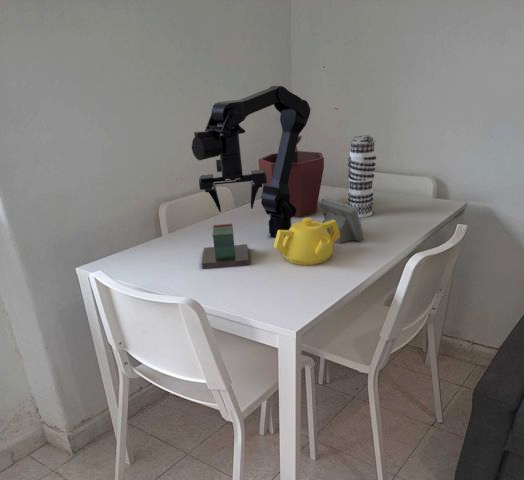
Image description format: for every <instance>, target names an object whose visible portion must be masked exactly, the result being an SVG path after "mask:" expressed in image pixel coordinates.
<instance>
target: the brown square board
mask: <svg viewBox="0 0 524 480" xmlns="http://www.w3.org/2000/svg"><path fill="white" fill-rule="evenodd" d="M234 247H235V258H231V259H219V260H216V258H215V250H214V246H209V247H203V252H202V260H201V268H202V269H214V268H215V269H216V268H228V267H229V268H230V267H241V266H250V261H249V259H250V258H249V249H248V244H246V243H245V244H234Z"/></svg>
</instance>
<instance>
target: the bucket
mask: <svg viewBox="0 0 524 480" xmlns="http://www.w3.org/2000/svg"><path fill="white" fill-rule="evenodd" d="M302 138H303V136H302V135H299V136H298V140H297V145H296V149H295V154H294V158H293V162H292V167H291V171H290V176H289V180H288V188H289V192H290V200H289V202H290V203H291V204H292V205H293V206H294V207H295V208H296V213H295V216H292V218H302V217H303V218H304V217H305V216H309V215H313V214H316V213H317V208H318V203H319V196H320V193H321V186H322V180H323V175H324V170H325V157H324V155H323V153H322V152H319V151H318V152H317V151H304V150H298V144H299V143H300V142H301V140H302ZM277 154H278V152H275V153H270V154H268V155H265V156H262V157H260V158H259V159H258V170H264V171H265V173H266V178H267V183H266V184H262V187H263V186H264V185H269V183H270V182H271V181H272V177H273V173H274V168H275V163H276V159H277Z"/></svg>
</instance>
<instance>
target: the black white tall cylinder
mask: <svg viewBox="0 0 524 480" xmlns="http://www.w3.org/2000/svg"><path fill="white" fill-rule="evenodd" d="M375 142H376V140H374V138H373V136H371V135H367V134H364V135H363V134H362V135H356V136H354V137H353V138H352V140H351V141H350V142H349V143H350V151H349V157H348V158H347V162H348V163H347V166H348V170H347V172H348V175H347V177H348V178H347V179H348V181H349V188H348V193H347V196H348V198H347V201H348V202H347V204H346V205H349V206H352V207H355V208H356V209H357V211H358V215H359V218H367V217H370V216H372V215H373V212H372V211H373V205H374V203H373V200H374V198H373V196H374V192H373V191H374V190H373V189H374V187H373V181H374V180H375V174H374V171H376V167H375V166H376V163H375V162H374V161H375V160H376V159H377V156H376V152H375V151H376V150H375Z"/></svg>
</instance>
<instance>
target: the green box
mask: <svg viewBox="0 0 524 480" xmlns="http://www.w3.org/2000/svg"><path fill="white" fill-rule="evenodd" d="M212 241H213V247H214V250H215V258H216V260H219V259H231V258H235V247H234V245H235V237H234V227H233V223H222V224H213V226H212Z"/></svg>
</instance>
